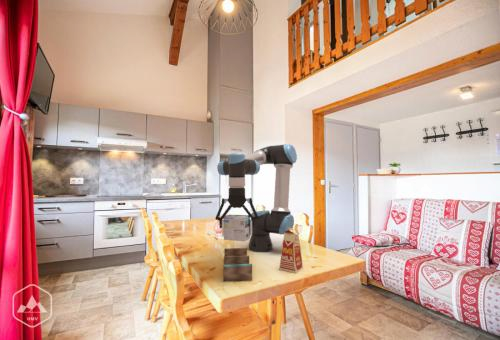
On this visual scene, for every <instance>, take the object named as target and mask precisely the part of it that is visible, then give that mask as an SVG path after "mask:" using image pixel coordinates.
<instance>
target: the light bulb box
mask: <svg viewBox="0 0 500 340" xmlns="http://www.w3.org/2000/svg"><path fill="white" fill-rule="evenodd" d="M223 220H224V236H223V241H235V242H247V241H249V240H250V238H251V235H250V220H251V218H250V216H249V215H248V214H226V216H225V217H224V218H223Z"/></svg>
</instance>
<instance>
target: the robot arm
mask: <svg viewBox="0 0 500 340" xmlns="http://www.w3.org/2000/svg"><path fill="white" fill-rule="evenodd" d="M297 156H298V155H297V151H296V148H295V147H294V145H292V144H290V143H288V144H285V143H284V144H278V145H277V144H276V145H275V144H274V145H269V146H265V147H262V148H260V149H256V150H255V151H253V152H252V153H249V154H244V153H242V152H241V153H240V152H234V153H230V154H229V155H228V160H222V161H219V162H218V164H217V167H216V168H217V172H218V174H219V175H220V176H228V187H229V188H228V197H227V198H223V197H222V198H221V204H220V205H219V206H220V207H219V208H218V211H217V213H216V215H215V220H217V221H218V222H219V224H218V225H219V226H218V227H219V229H221V236H222V237H224V217H225V216H226V215H228V213H229V212H230V211H231V209H232V208H233V209H236V208H239V209H241V208H242V209H244V211H245V212H246V215H249V216H250V239H249V240H248V244H247V245H248V246H247V250H249V251H251V252H257V253H258V252H259V253H264V252H270V251H272V250H273V249H274V248H273V247H274V245H273V242H272V239H271V234H277V235H284V233H285V232H286V231H287V230H288V227H289V228H293V229H294V224H295V219H294V216H293V214H291V210H290V209H289V201H290V180H291V178H290V177H291V169H292V168H293V167H294V164H296V162H297V159H298V157H297ZM262 165H273V167H274V168H275V180H274V181H275V182H274V196H273V197H274V198H273V199H274V200H273V207H272V209H270V210H267V209H266V210H258V211H257V210H256V209H255V206H254V204H253V199H252V197H249V198H246V188H245V186H246V175H247V176H248V175H250V176H254V175H257V174H258V173H259V172H260V170H261V166H262ZM246 202H247V203H249V206H250V208H251V210H252V212H250V211H249V210H248V208H247V206H246V205H245V203H246ZM226 203H229V205H228V207H227V208H226V209H225V211H224V212H223V213H222V215H221V212H222V211H223V209H224V206H225V204H226ZM220 215H221V216H220ZM270 233H271V234H270Z"/></svg>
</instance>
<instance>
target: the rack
mask: <svg viewBox="0 0 500 340" xmlns="http://www.w3.org/2000/svg"><path fill="white" fill-rule="evenodd" d="M223 252H224V256H223V282H224V283H225V282H228V283H229V282H245V281H246V282H247V281H249V282H250V281H253V264H252V263H250V255H248V247H237V248H236V247H235V248H233V247H232V248H224V251H223Z"/></svg>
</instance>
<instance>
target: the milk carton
mask: <svg viewBox="0 0 500 340" xmlns="http://www.w3.org/2000/svg"><path fill="white" fill-rule="evenodd" d="M303 265H304V264H303V257H302V249H301V243H300V235H299V234H298V233H297V232H296V231H295V230H294V227H293V228H289V227H288V230H287V231H286V232H285V233H284V234H283V240H282V248H281V254H280V262H279V267H278V270H281V271H284V272H289V273H294V274H298V273H299V272H300V271H301V270H302V269H304V266H303Z"/></svg>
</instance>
